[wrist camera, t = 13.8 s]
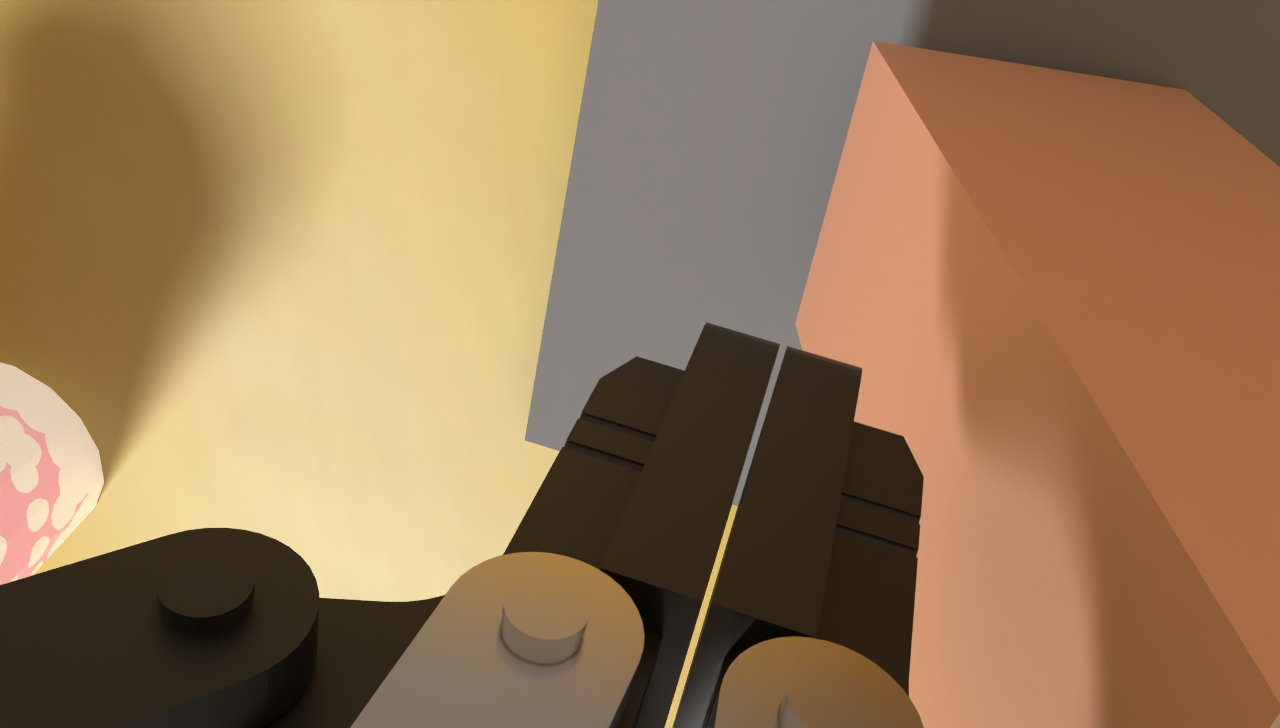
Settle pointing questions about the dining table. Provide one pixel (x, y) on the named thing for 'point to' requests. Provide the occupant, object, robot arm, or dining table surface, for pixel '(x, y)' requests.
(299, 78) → the dining table surface
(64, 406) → the beverage cup
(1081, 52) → the mat
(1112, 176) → the block
